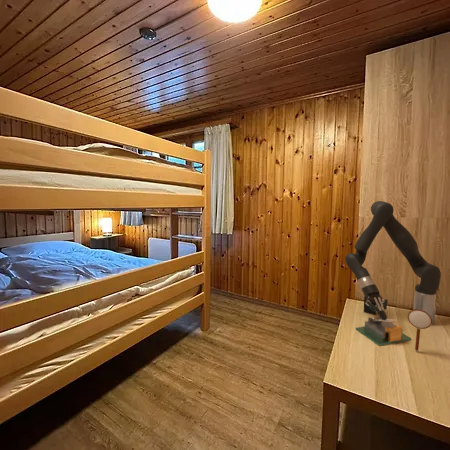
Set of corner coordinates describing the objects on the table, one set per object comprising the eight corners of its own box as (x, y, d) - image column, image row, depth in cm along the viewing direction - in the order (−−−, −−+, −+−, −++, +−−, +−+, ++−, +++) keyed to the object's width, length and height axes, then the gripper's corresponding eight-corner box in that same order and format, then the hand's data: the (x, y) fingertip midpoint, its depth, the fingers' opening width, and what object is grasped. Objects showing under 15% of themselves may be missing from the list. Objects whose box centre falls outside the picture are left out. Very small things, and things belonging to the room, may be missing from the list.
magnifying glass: (428, 354, 113) (433, 312, 110) (428, 356, 112) (432, 313, 109) (405, 347, 118) (408, 306, 116) (404, 348, 117) (408, 307, 115)
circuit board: (385, 324, 138) (386, 311, 137) (411, 340, 124) (412, 325, 123) (355, 329, 134) (356, 316, 133) (379, 346, 119) (380, 330, 118)
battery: (377, 313, 152) (378, 295, 150) (376, 315, 149) (377, 297, 148) (364, 309, 156) (365, 292, 155) (362, 311, 154) (364, 293, 152)
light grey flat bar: (378, 319, 134) (378, 318, 134) (395, 320, 123) (395, 319, 123) (372, 320, 133) (371, 319, 133) (389, 321, 122) (388, 320, 122)
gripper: (361, 284, 132) (378, 318, 122) (382, 282, 136) (400, 315, 125) (353, 290, 138) (369, 322, 128) (374, 288, 141) (390, 320, 131)
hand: (384, 319), depth 127 cm, fingers closed
